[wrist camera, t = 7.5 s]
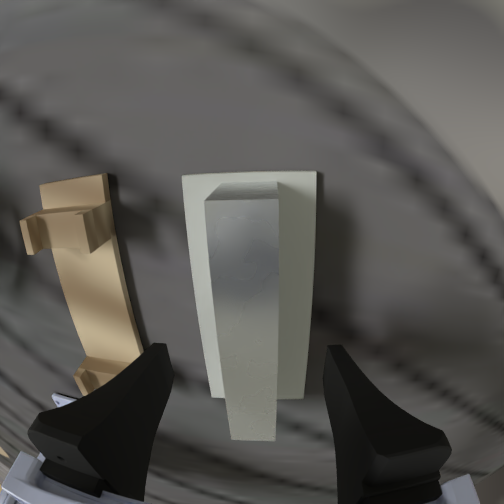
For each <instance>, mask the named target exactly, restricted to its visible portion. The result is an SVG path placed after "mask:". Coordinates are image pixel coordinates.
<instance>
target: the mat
mask: <svg viewBox="0 0 504 504" xmlns="http://www.w3.org/2000/svg"><path fill="white" fill-rule="evenodd" d="M262 181H277V187H278V197H279V322H278V372H277V399H303V397H304V388H305V379H306V369H307V359H308V348H309V336H310V324H311V310H312V295H313V277H314V257H315V229H316V171H248V172H222V173H204V174H188V175H183V176H182V185H183V196H184V207H185V217H186V226H187V236H188V244H189V253H190V261H191V269H192V277H193V284H194V292H195V299H196V306H197V313H198V319H199V326H200V332H201V338H202V344H203V350H204V356H205V362H206V368H207V373H208V379H209V384H210V389H211V395H212V397H216V398H225V393H224V386H223V379H222V372H221V364H220V356H219V348H218V340H217V332H216V324H215V315H214V306H213V297H212V287H211V277H210V267H209V257H208V246H207V234H206V222H205V210H204V200H205V199H206V198H207V197H208V196H209V195H210V194H211V193H212V192H213V191H214V190H215V189H216V188H217V187H218V186H219V185H220V184H221V183H225V182H262Z"/></svg>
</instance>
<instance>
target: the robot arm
mask: <svg viewBox="0 0 504 504" xmlns="http://www.w3.org/2000/svg"><path fill="white" fill-rule="evenodd" d="M173 379H174V373H173V369H172V365H171V362H170V358H169V354H168V350H167V346H166V344H164V343H153V344H152V345H151V346H150V347H148V348H147V349H146V350H145V351H144V352H143V353H142V354H141V355H140V356H139V357H138V358H136V359H135V360H134V361H133V362H132V363H131V364H130V365H129V366H127V367H126V368H125V369H124V370H123V371H121V372H120V373H119V374H118V375H116V376H115V377H114V378H112V379H111V380H110V381H108V382H107V383H106V384H104V385H103V386H101V387H99V388H98V389H96V390H95V391H93V392H91V393H89V394H87V395H86V396H84V397H82V398H80V399H78V400H76V399H73V398H69V397H66V396H62V395H59V394H55V393H54V394H53V395H52V398H53V400H54V402H55V403H56V405H57V406H58V408H55V409H52V410H48V411H45V412H41V413H39V414H38V416H37V417H36V419H35V420H34V422H33V424H32V425H31V427H30V428H29V430H28V436H29V439H30V440H31V442H32V443H33V444H34V445H35V447H36V448H37V449H38V450H39V451H40V454H39V456H38V458H35V457H33V456H31V455H29V454H27V453H25V452H23V451H21V452H20V453H19V455H18V457H17V459H16V460H15V462H14V464H13V466H12V467H11V469H10V471H9V473H8V474H7V476H6V478H5V480H4V482H3V484H2V485H1V487H2V491H1V493H0V504H150V503H146V502H144V494H145V484H146V477H147V471H148V465H149V460H150V454H151V450H152V445H153V441H154V437H155V434H156V431H157V428H158V425H159V422H160V420H161V417H162V415H163V412H164V409H165V407H166V404H167V401H168V398H169V396H170V392H171V388H172V384H173ZM323 385H324V395H325V401H326V405H327V410H328V414H329V419H330V423H331V428H332V432H333V437H334V443H335V454H336V468H337V491H338V504H480V502H479V499H478V496H477V493H476V490H475V488H474V485H473V482H472V479H471V477H470V474H466V475H463V476H460V477H458V478H455V479H452V480H449V481H447V482H445V483H443V484H441V485H440V484H439V481H438V480H439V479H440V477H441V476H440V473H439V469H440V468H441V467H442V466H443V464H444V463H445V462H446V461H447V459H448V458H449V456H450V455H451V451H452V449H451V446H450V444H449V441H448V439H447V437H446V435H445V434H444V432H443V431H442V430H440V429H438V428H435V427H433V426H431V425H428V424H426V423H424V422H422V421H421V420H419V419H417V418H415V417H413V416H412V415H410V414H409V413H407V412H406V411H404V410H403V409H401V408H400V407H398V406H397V405H396V404H394V403H393V402H392V401H391V400H389V399H388V398H387V397H386V396H385V395H384V394H383V393H381V392H380V391H379V390H378V389H377V388H376V387H375V386H374V385H373V384H372V382H371V381H370V380H369V379H368V378H367V377H366V376H365V375H364V373H363V372H362V371H361V370H360V369H359V367H358V366H357V365H356V364H355V362H354V361H353V360H352V358H351V357H350V356H349V354H348V353H347V352H346V350H345V349H344V347H343V346H342V345H328V346H327V353H326V360H325V367H324V374H323Z"/></svg>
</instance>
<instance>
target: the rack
mask: <svg viewBox="0 0 504 504" xmlns="http://www.w3.org/2000/svg"><path fill="white" fill-rule="evenodd" d="M39 186H40V192H41V199H42V204H43V210H41V211H39V212H37V213H35V214H32V215H30V216H28V217H26V218H24V219H22V220H20V226H21V231H22V235H23V239H24V243H25V247H26V251H27V255H34V254H36V253H37V252H39V251H40V250H42V249H52V252H53V256H54V260H55V264H56V267H57V271H58V275H59V278H60V281H61V285H62V288H63V291H64V295H65V298H66V301H67V304H68V307H69V310H70V313H71V316H72V318H73V321H74V324H75V327H76V329H77V332H78V335H79V337H80V340H81V343H82V345H83V348H84V350H85V352H86V355H87V357H86V358H85V360H84V361H83V362H82V364H81V365H80V367H79V368H78V370H77V371H76V373H75V374H74V375H73V377H74V379H75V381H76V383H77V384H78V386H79V388H80V390H81V392H82V394H83V395H84V396H86V395H87V394H89V393H91V392H93V390H94V389H98V388H99V387H101V386H103V385H104V384H106V383H107V382H108V381H110V380H111V379H112V378H114V377H115V376H116V375H118V374H119V373H120V372H121V371H123V370H124V369H125V368H126V367H127V366H129V365H130V364H131V363H132V362H133V361H134V360H135V359H136V358H138V357H139V356H140V355H141V354H142V353H143V352H144V350H143V347H142V343H141V340H140V336H139V333H138V329H137V326H136V322H135V318H134V314H133V310H132V307H131V303H130V298H129V294H128V290H127V286H126V281H125V277H124V272H123V268H122V263H121V258H120V253H119V248H118V242H117V237H116V231H115V225H114V219H113V213H112V206H111V199H110V192H109V184H108V176H107V173H105V174H98V175H91V176H84V177H78V178H72V179H66V180H60V181H55V182H49V183H45V184H42V185H39Z"/></svg>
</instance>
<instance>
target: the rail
mask: <svg viewBox="0 0 504 504" xmlns="http://www.w3.org/2000/svg"><path fill="white" fill-rule="evenodd" d="M204 210H205V222H206V234H207V246H208V257H209V267H210V277H211V287H212V297H213V306H214V315H215V324H216V332H217V340H218V348H219V356H220V364H221V372H222V379H223V386H224V393H225V400H226V407H227V414H228V420H229V427H230V433H231V439H232V440H253V441H275V433H276V406H277V372H278V322H279V197H278V187H277V181H262V182H225V183H221V184H220V185H219V186H218V187H217V188H216V189H215V190H214V191H213V192H212V193H211V194H210V195H209V196H208V197H207V198H206V199H205V200H204Z"/></svg>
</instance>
